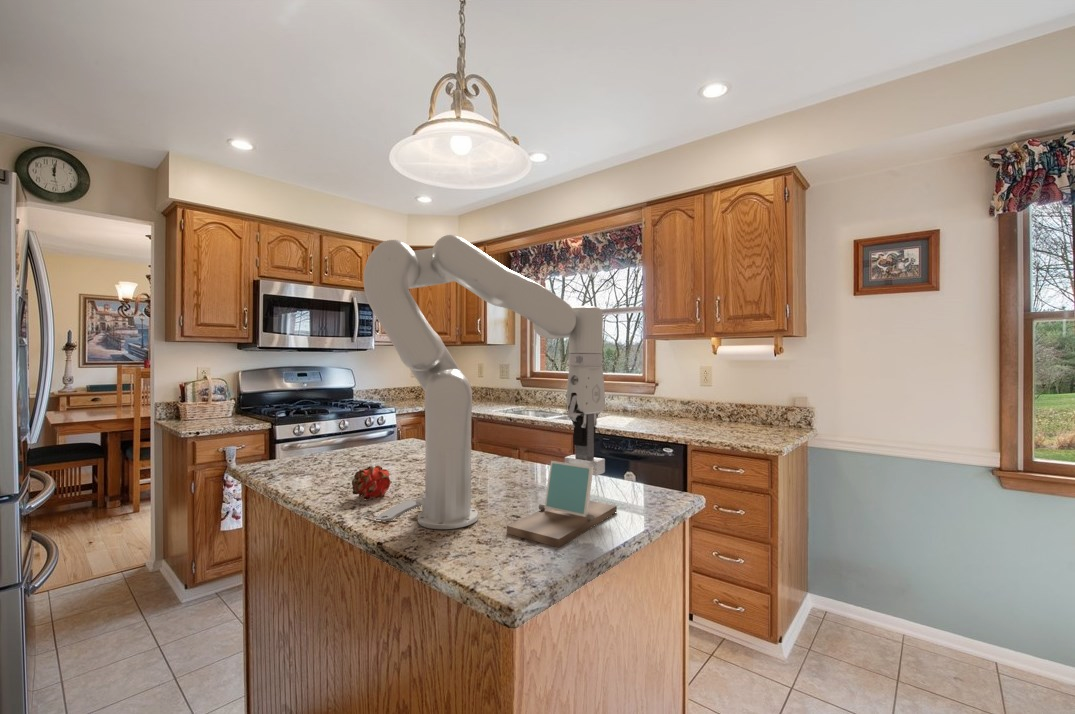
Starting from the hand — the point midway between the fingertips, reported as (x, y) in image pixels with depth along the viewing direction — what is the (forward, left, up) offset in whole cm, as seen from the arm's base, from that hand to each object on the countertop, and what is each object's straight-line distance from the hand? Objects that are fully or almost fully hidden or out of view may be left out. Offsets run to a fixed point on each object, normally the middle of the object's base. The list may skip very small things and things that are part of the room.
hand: (584, 443), depth 106 cm
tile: (0, -7, -8) cm, 11 cm away
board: (0, -8, -15) cm, 17 cm away
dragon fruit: (-48, -20, -16) cm, 54 cm away
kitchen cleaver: (-36, -19, -16) cm, 44 cm away
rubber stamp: (0, 0, -6) cm, 6 cm away
